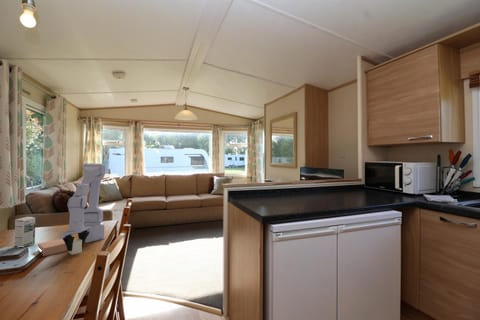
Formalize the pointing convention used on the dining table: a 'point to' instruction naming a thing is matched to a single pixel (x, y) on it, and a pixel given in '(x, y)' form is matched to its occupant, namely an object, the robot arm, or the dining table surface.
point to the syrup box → (24, 231)
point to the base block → (52, 247)
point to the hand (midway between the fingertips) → (75, 248)
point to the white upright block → (76, 246)
